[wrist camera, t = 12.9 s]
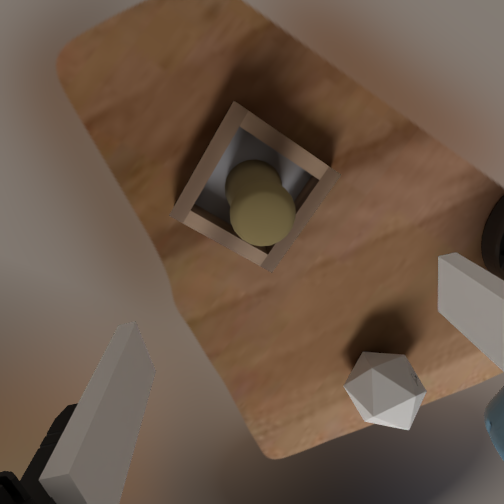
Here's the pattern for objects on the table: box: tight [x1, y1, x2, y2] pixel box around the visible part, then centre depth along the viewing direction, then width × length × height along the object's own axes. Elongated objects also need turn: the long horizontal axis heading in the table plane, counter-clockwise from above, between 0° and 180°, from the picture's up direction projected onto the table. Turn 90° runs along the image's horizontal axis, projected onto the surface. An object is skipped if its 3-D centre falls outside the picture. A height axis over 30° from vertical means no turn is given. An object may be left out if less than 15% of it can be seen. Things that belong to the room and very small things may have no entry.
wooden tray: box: [169, 101, 341, 273], centre depth 34 cm, size 12×12×4 cm
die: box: [344, 352, 426, 430], centre depth 42 cm, size 8×9×10 cm
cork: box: [225, 159, 296, 246], centre depth 30 cm, size 6×6×11 cm
